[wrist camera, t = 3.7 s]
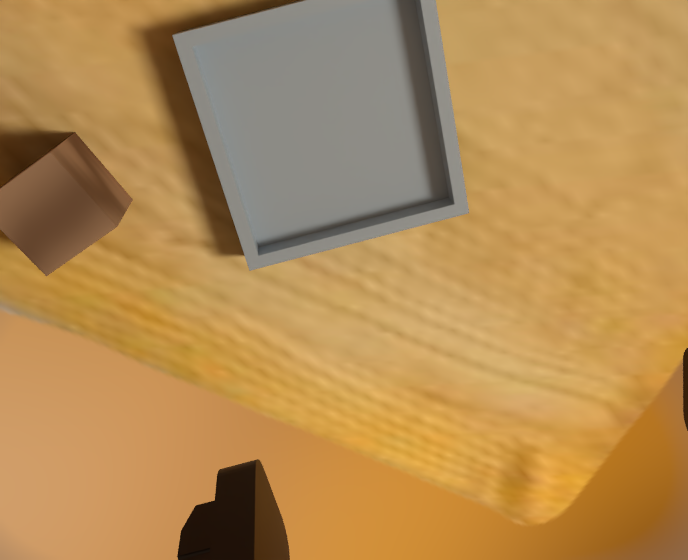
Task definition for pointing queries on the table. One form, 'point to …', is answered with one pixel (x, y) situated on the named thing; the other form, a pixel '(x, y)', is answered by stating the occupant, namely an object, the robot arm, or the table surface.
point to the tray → (327, 122)
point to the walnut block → (61, 205)
